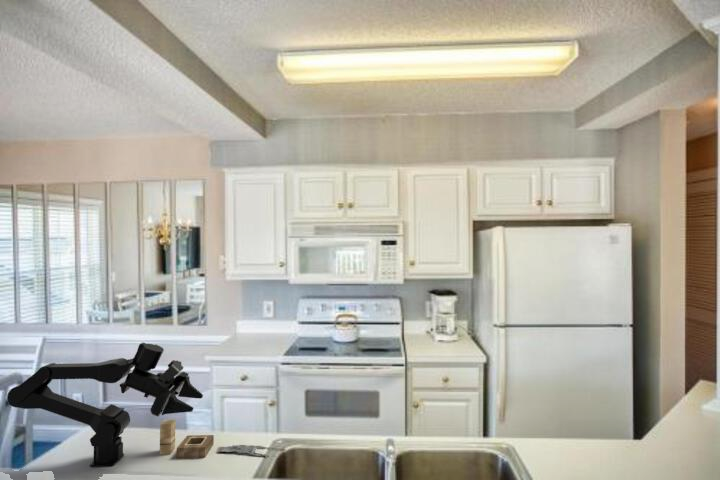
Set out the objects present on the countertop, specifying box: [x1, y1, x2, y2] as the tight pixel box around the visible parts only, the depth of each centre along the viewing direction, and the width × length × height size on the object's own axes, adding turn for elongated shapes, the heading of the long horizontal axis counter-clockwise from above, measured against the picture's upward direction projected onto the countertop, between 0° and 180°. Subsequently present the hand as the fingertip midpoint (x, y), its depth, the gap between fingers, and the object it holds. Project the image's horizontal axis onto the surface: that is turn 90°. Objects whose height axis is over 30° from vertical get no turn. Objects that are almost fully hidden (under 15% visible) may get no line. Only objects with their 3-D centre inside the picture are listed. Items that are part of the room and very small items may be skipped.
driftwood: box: [216, 444, 286, 459], centre depth 126 cm, size 21×7×2 cm, turn 80°
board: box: [176, 434, 215, 459], centre depth 126 cm, size 8×8×3 cm
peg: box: [159, 419, 176, 455], centre depth 126 cm, size 3×3×9 cm
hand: (197, 403), depth 123 cm, fingers open, 9 cm apart
